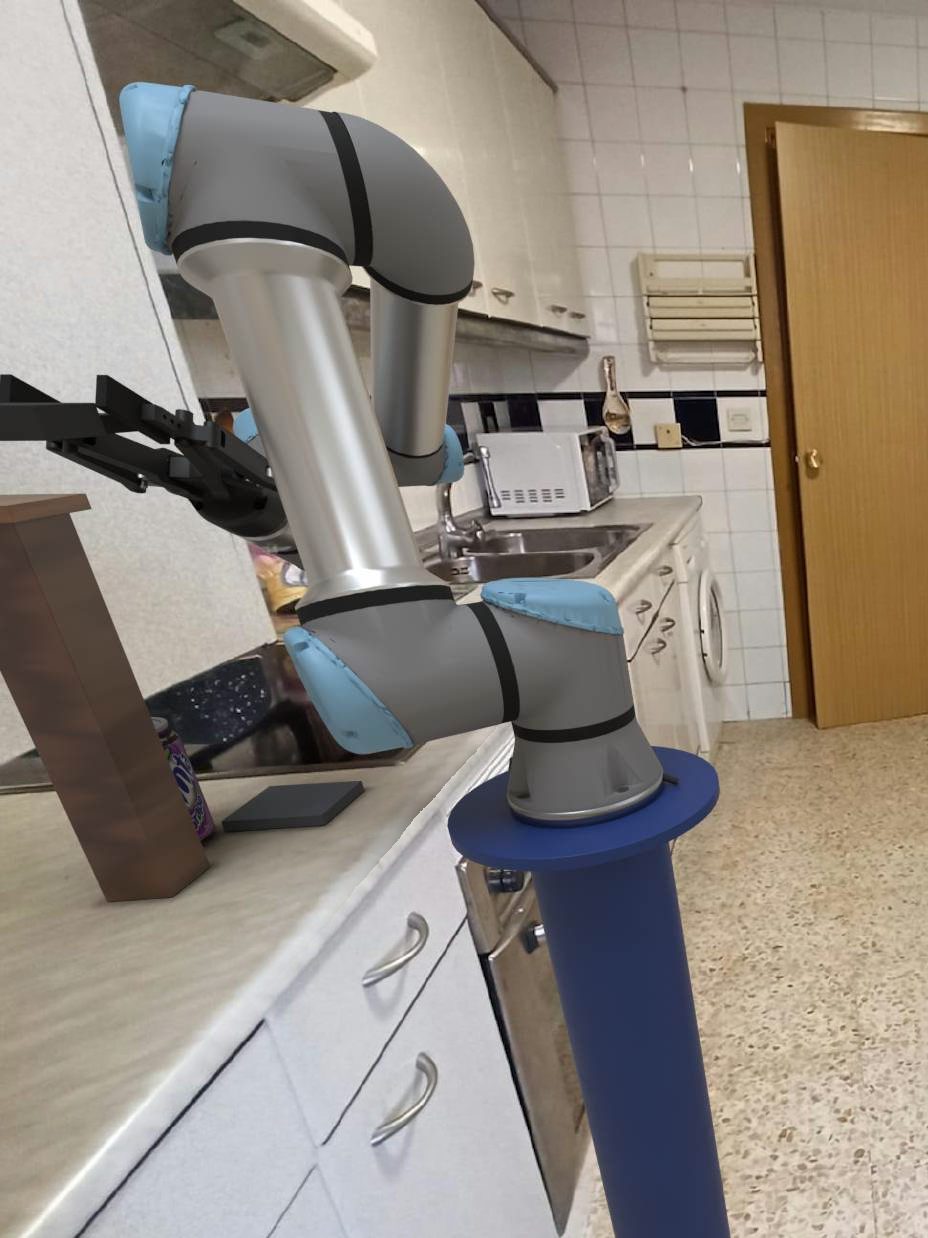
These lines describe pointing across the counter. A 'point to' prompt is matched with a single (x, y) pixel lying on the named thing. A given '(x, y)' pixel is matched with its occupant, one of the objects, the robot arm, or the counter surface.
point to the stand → (88, 706)
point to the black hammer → (55, 421)
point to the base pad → (293, 806)
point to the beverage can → (185, 778)
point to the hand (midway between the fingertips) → (53, 390)
